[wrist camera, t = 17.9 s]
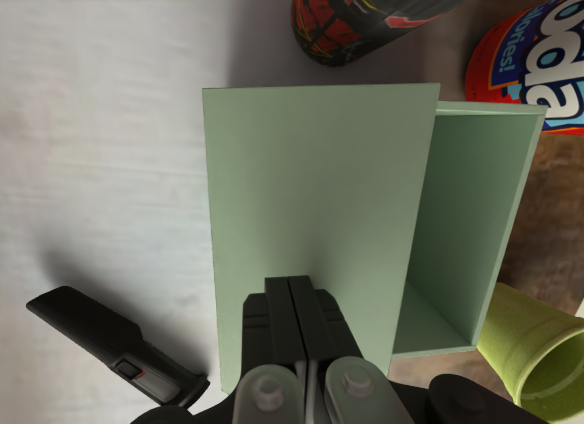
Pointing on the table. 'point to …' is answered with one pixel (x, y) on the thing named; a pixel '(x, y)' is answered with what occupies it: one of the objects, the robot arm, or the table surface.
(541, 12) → the soda can
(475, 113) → the carton
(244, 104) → the flap
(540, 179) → the table surface
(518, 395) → the plant pot
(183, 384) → the electric trimmer
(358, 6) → the deodorant
